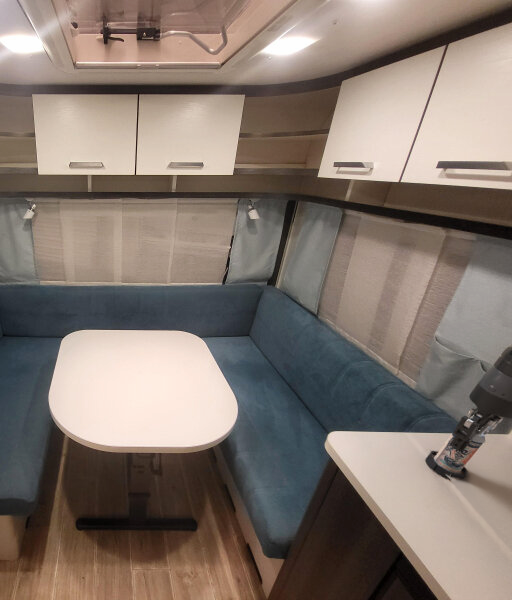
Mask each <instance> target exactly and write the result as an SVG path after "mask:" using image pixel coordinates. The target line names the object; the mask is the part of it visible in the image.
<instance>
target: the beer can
mask: <svg viewBox="0 0 512 600" xmlns="http://www.w3.org/2000/svg"><path fill="white" fill-rule="evenodd" d="M477 430H478V429H477ZM463 432H464V431H463ZM466 434H467V433H466ZM455 436H456V435H455V434H454V433H453V432H452V433H451V434H450V436H449V437H448V439H447V440H446V441H445V442H444V443H443V445H442V447H441V448H440V449H439V450H438V451H437V452H438V453H437V455H434V457H433V460H434V461H435V462H436V463H437V464H438V465H439V466H441V467H443V468H444V469H446V470H448V471H449V472H451V473H455V474H460V473H461V472H462V468H463V467H465V466H466V465H467V464H468V462H469V461H471V458H472V457H474V455H475V454H476V453H477V451H478V450H479V449H480V448H481V446H482V445H483V444H484V443H485V442H486V435H484V434H482V435H477V436H476V437H475V438H474V439H473V441H471V442H470V443H469V444H468V445H467V447H466V448H465V449H464V450H463V451H461V452H460V451H458V450H456V449H454V448H453V447H451V446H450V443H451V441H452V440H453V439H454V437H455Z"/></svg>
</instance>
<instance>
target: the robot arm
mask: <svg viewBox="0 0 512 600" xmlns="http://www.w3.org/2000/svg"><path fill="white" fill-rule="evenodd" d="M468 397H469V400H470V401H471V402H472V403H473V404H474V405H475V406H476V407H475V408H474V407H472V408H470V410H468V412H467V415H463V416H462V417H461V418H460V420H459V422H458V424H457V425H456V427H455V429H453V432H452V433H454V434H455V435H456V436H455V437H454V439H453V440H452V441H451V443H450V446H451V447H453V448H454V449H456V450H458V451H460V452H461V451H463V450H464V449H465V448H466V447H467V445H468V444H469V443H470V442H471V441H473V439H474V438H475V437H476V436H477V435H482V434H484V435H485V436H486V435H489V432H493V431H494V430H495V428H496V427H497V426H498V425H499V424H500V423H501V422H502V421H503V420H504V419H511V420H512V344H510V345H508V346H507V347H506V348H505V349H504V350H503V351H502V352H501V354H500V355H499V357H498V358H497V359H496V360H495V362H494V363H493V365H491V367H490V368H489V369H487V371H485V373H484V374H483V376H482V377H481V379H480V380H479V381H478V382H477V383H476V385H475V386H474V388H473V389H472V390H471V392H470V394H469V395H468ZM477 429H478V430H477ZM463 431H464V432H463ZM466 433H467V434H466Z"/></svg>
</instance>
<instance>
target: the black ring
mask: <svg viewBox="0 0 512 600" xmlns="http://www.w3.org/2000/svg"><path fill="white" fill-rule="evenodd" d="M438 452H439V451H436V450H432V451H430V453H429V454H428V455H427V457H426V458H425V463H426V465H427V466H428V468H430V470H432V471H433V472H434V474H436V475H438V476H440V477H442V478H443V479H446V480H448V481H451V478H455V479H461V480H462V479H463V480H464V479H465V478H466V476H467V474H468V472H469V471H468V469H467V468H466V467H465V466H464V467H463V468H462V470H461V472H462V473H463V474H460V473H452V472H449V471H448V470H446V469H444V468H443V467H441V466H439V465H438V464H437V463H436V461H435V460H434V457H432V455H434V456H436V455H437V453H438ZM449 477H451V478H449Z"/></svg>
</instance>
